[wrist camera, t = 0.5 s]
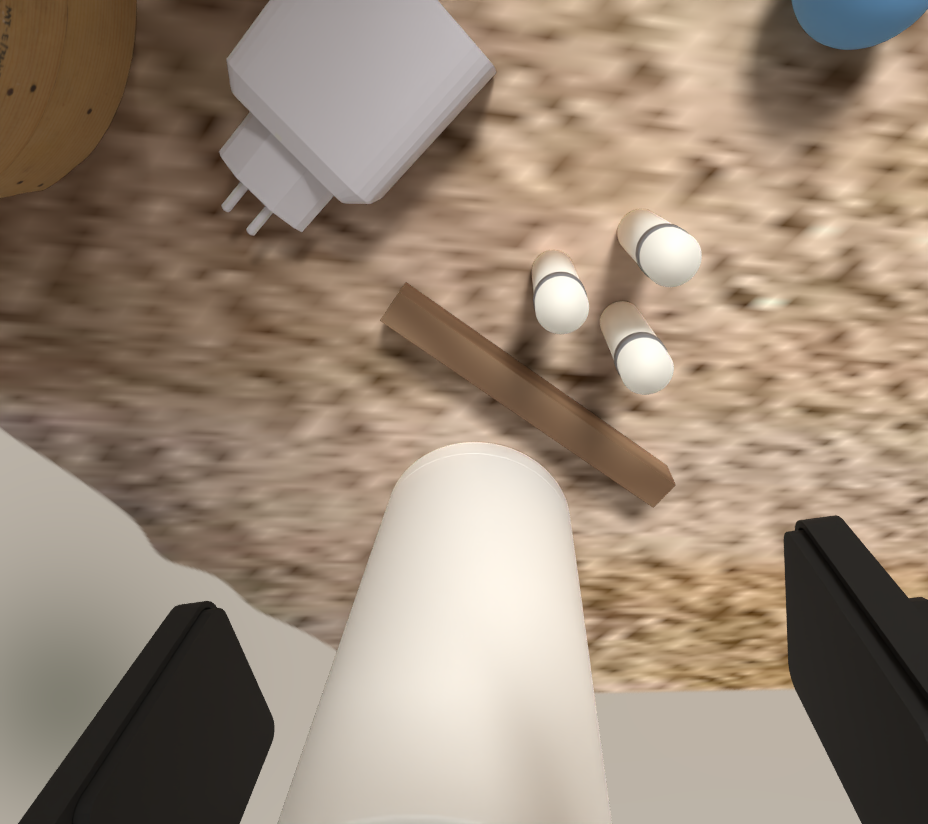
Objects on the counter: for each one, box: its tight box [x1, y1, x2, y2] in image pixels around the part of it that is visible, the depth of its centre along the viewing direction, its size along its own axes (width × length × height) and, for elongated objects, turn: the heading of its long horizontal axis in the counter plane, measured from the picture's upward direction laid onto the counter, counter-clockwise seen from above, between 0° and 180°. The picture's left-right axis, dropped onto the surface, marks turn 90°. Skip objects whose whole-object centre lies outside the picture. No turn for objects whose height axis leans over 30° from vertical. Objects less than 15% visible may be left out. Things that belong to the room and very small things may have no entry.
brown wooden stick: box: [380, 283, 675, 508], centre depth 39 cm, size 2×20×2 cm, turn 55°
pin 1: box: [532, 250, 589, 334], centre depth 33 cm, size 2×2×8 cm
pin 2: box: [600, 301, 674, 395], centre depth 34 cm, size 2×2×8 cm
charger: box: [219, 0, 496, 235], centre depth 33 cm, size 5×9×15 cm
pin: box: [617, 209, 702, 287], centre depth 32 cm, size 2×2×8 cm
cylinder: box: [278, 442, 612, 824], centre depth 33 cm, size 12×12×25 cm
